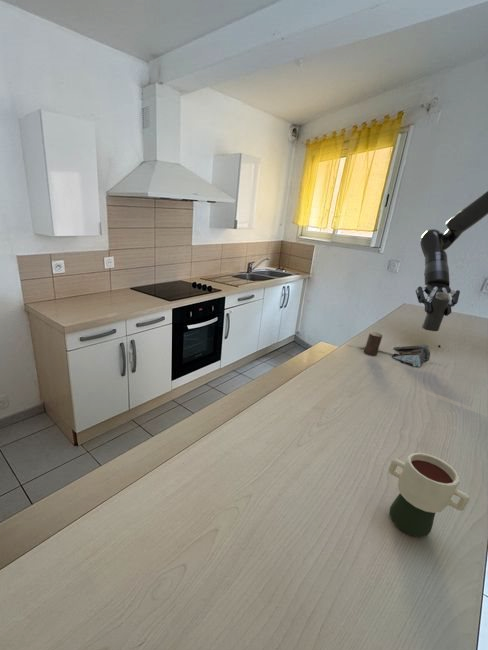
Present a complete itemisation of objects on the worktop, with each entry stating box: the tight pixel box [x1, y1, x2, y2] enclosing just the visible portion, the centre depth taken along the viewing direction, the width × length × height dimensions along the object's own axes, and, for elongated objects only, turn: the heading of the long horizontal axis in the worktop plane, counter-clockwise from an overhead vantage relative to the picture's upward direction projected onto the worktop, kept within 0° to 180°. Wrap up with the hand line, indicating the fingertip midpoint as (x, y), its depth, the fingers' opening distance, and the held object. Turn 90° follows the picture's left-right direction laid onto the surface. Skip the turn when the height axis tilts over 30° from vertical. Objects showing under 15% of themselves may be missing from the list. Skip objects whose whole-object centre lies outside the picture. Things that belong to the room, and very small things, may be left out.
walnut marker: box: [363, 331, 383, 357], centre depth 123 cm, size 4×4×8 cm
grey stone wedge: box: [391, 344, 431, 368], centre depth 118 cm, size 10×7×12 cm
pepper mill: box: [421, 292, 451, 332], centre depth 120 cm, size 5×5×14 cm
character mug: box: [387, 452, 470, 538], centre depth 55 cm, size 11×7×13 cm, turn 44°
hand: (438, 313), depth 119 cm, fingers closed on pepper mill, 5 cm apart
